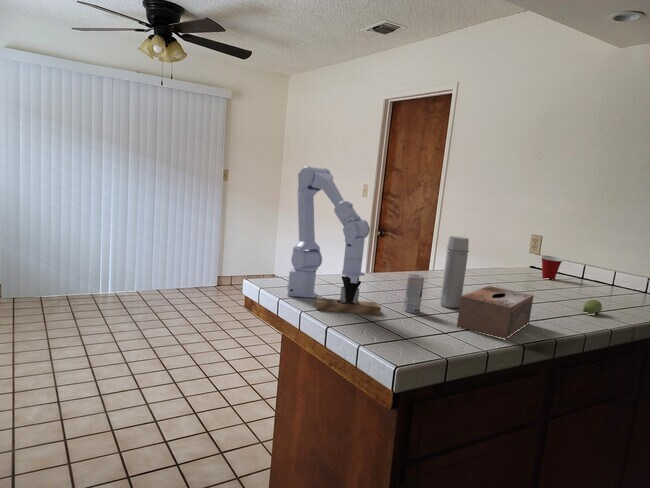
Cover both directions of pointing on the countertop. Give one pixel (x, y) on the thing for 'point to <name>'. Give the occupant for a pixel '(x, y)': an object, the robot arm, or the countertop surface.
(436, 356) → the countertop surface
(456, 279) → the water bottle
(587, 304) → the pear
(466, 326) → the tissue box cover
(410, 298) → the energy drink
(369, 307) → the rail
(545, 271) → the plastic cup
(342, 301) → the brushed metal block
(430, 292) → the countertop surface
